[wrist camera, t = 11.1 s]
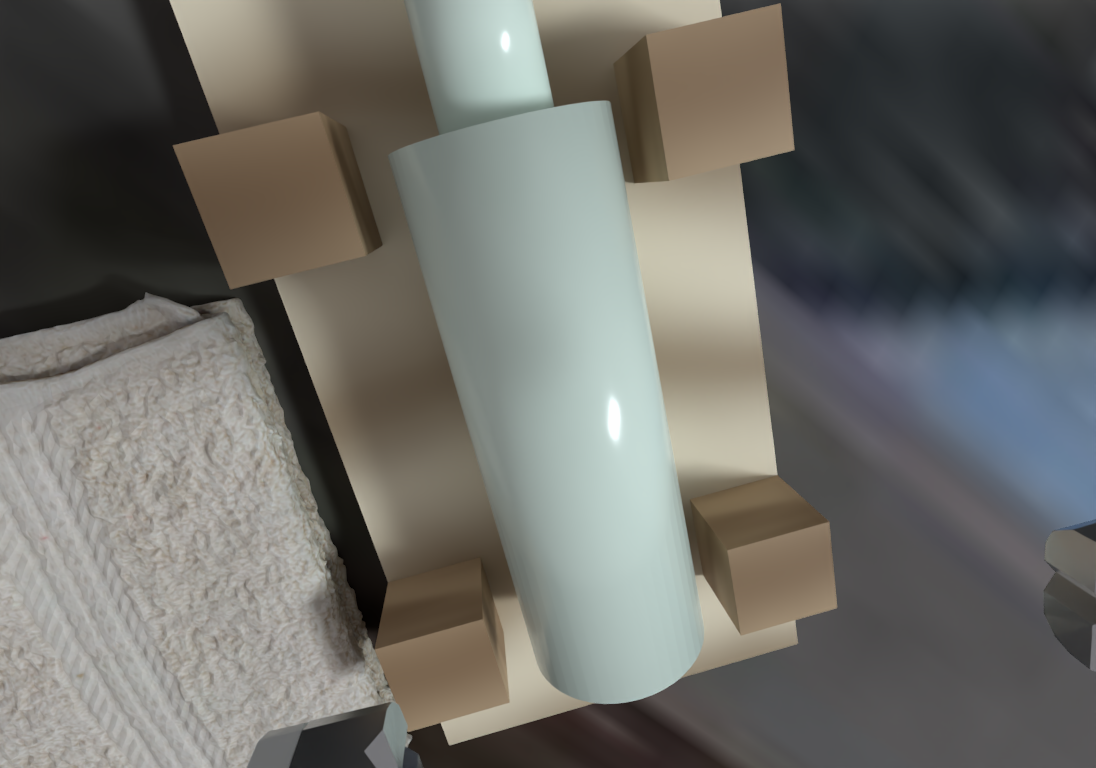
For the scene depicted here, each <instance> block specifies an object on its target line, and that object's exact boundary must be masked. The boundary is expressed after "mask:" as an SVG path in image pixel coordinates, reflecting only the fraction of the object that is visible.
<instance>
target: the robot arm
mask: <svg viewBox="0 0 1096 768" xmlns="http://www.w3.org/2000/svg"><path fill="white" fill-rule="evenodd" d="M1045 561H1046V562H1047V563H1048V564H1049V565H1050V567H1051V568H1052V569H1053V570H1054V571H1055V572H1056V573H1055V574H1054V576H1053V577H1052V579H1051V580H1050V582H1049V583H1048V585H1047V586H1046V588H1045V589H1044V615H1045V617H1046V619H1047V621H1048V623H1049V625H1050V627H1051V629H1052V631H1053V633H1054V635H1055V637H1056V638H1057V639H1058V640H1059V642H1060V643H1061V644H1062V645H1063V646H1064V647H1065V649H1066V650H1067V651H1068V652H1069V653H1070V654H1071V655H1072V656H1074V657H1075V658H1076V659H1077V660H1079V661H1080V662H1081V663H1083V664H1084V665H1085V666H1086V667H1088V668H1089V669H1090V670H1093V671H1096V519H1095V520H1091V521H1087V522H1084V523H1080V524H1076V525H1072V526H1069V527H1065V528H1061V529H1057V530H1054V531H1053V532H1052V533H1051V535H1050V536H1049V538H1048V539H1047V541H1046V542H1045ZM407 728H408V725H407V723H406V720H405V718H404V716H403V713H402V711H401V708H400V706H399V704H396V703H394V702H388V703H384V704H380V705H376V706H371V707H367V708H363V709H358V710H354V711H350V712H345V713H341V714H337V715H333V716H328V717H324V718H320V719H315V720H311V721H310V722H308V723H302V724H298V725H294V726H289V727H285V728H281V729H276V730H272V731H268V732H267V733H266V734H265V735H264V736H263V737H262V738H261V739H260V740H259V741H258V743H257V744H256V747H255V749H254V751H253V754H252V756H251V758H250V761H249V763H248V765H247V768H423V766H422V763H421V760H420V757H419V755H418V754H417V753H415V752H414V751H412V750H410V749H409V748H407V747H405V743H406V735H407Z"/></svg>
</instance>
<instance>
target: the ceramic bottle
mask: <svg viewBox="0 0 1096 768" xmlns="http://www.w3.org/2000/svg"><path fill="white" fill-rule="evenodd" d="M404 4H405V8H406V12H407V15H408V19H409V23H410V27H411V30H412V34H413V38H414V42H415V45H416V49H417V53H418V57H419V60H420V64H421V68H422V72H423V75H424V79H425V83H426V87H427V91H428V94H429V98H430V102H431V106H432V109H433V113H434V117H435V121H436V124H437V128H438V132H439V135H438V136H435V137H432V138H429V139H426V140H423V141H420V142H417V143H414V144H411V145H408V146H405V147H403V148H401V149H398V150H396V151H394V152H392V153H390V154H389V155H388V159H389V162H390V166H391V169H392V172H393V176H394V179H395V183H396V186H397V189H398V193H399V196H400V200H401V203H402V206H403V210H404V213H405V217H406V220H407V223H408V227H409V230H410V234H411V237H412V240H413V244H414V247H415V251H416V254H417V257H418V261H419V264H420V268H421V271H422V274H423V278H424V281H425V285H426V288H427V291H428V295H429V298H430V302H431V305H432V308H433V312H434V315H435V319H436V322H437V325H438V329H439V332H440V336H441V339H442V342H443V346H444V349H445V353H446V356H447V359H448V363H449V366H450V370H451V373H452V376H453V380H454V383H455V387H456V390H457V393H458V397H459V400H460V404H461V407H462V410H463V414H464V417H465V421H466V424H467V427H468V431H469V434H470V438H471V441H472V444H473V448H474V451H475V455H476V458H477V461H478V465H479V468H480V472H481V475H482V478H483V482H484V485H485V489H486V492H487V495H488V499H489V502H490V506H491V509H492V512H493V516H494V519H495V523H496V526H497V529H498V533H499V536H500V540H501V543H502V546H503V550H504V553H505V557H506V560H507V563H508V567H509V570H510V574H511V577H512V580H513V584H514V587H515V591H516V594H517V597H518V601H519V604H520V608H521V611H522V614H523V618H524V621H525V625H526V628H527V631H528V635H529V638H530V642H531V645H532V648H533V652H534V655H535V659H536V662H537V665H538V667H539V669H540V671H541V673H542V674H543V676H544V677H545V679H546V680H547V681H548V682H549V683H550V684H551V685H552V686H553V687H555V688H556V689H557V690H559V691H560V692H562V693H564V694H566V695H568V696H570V697H573V698H575V699H578V700H582V701H586V702H591V703H600V704H617V703H625V702H631V701H635V700H639V699H643V698H645V697H648V696H651V695H654V694H656V693H658V692H660V691H662V690H664V689H665V688H667V687H669V686H670V685H672V684H673V683H675V682H676V681H677V680H678V679H680V678H681V677H682V676H683V675H684V674H685V673H686V672H687V671H688V670H689V669H690V668H691V666H692V665H693V663H694V662H695V661H696V659H697V657H698V655H699V653H700V651H701V648H702V645H703V641H704V623H703V617H702V612H701V606H700V600H699V595H698V589H697V584H696V578H695V573H694V567H693V561H692V556H691V550H690V545H689V539H688V533H687V528H686V522H685V517H684V511H683V505H682V500H681V494H680V489H679V483H678V477H677V472H676V466H675V461H674V455H673V449H672V444H671V438H670V433H669V427H668V422H667V416H666V410H665V405H664V399H663V394H662V388H661V382H660V377H659V371H658V366H657V360H656V354H655V349H654V343H653V338H652V332H651V326H650V321H649V315H648V310H647V304H646V298H645V293H644V287H643V282H642V276H641V271H640V265H639V259H638V254H637V248H636V243H635V237H634V231H633V226H632V220H631V215H630V209H629V203H628V198H627V192H626V187H625V181H624V175H623V170H622V164H621V159H620V153H619V147H618V142H617V136H616V131H615V125H614V119H613V114H612V108H611V103H610V102H609V101H590V102H582V103H576V104H569V105H564V106H558V107H554V103H553V98H552V93H551V89H550V84H549V79H548V74H547V69H546V64H545V59H544V55H543V50H542V45H541V40H540V35H539V30H538V26H537V21H536V16H535V11H534V6H533V1H532V0H404Z"/></svg>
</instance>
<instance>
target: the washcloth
mask: <svg viewBox="0 0 1096 768" xmlns="http://www.w3.org/2000/svg"><path fill="white" fill-rule="evenodd" d="M265 363H266V360H265V357H264V356H263V354H262V350H261V348H260V346H259V344H258V342H257V339H256V337H255V335H254V324H253V322H252V319H251V318H250V316H249V314H248V313H247V312H246V310H245V308H244V306H243V303H242V301H241V300H240V299H239V298H232V299H228V300H222V301H216V302H212V303H207V304H203V305H195V306H192V307H188V306H185V305H182V304H179V303H176V302H173V301H171V300H169V299H167V298H163V297H160V296H156V295H152V294H149V293H146V292H145V298H144V299H143V300H137V301H136V302H135V303H133V304H131V305H129V306H128V307H127V308H126V309H123V310H121V311H118V312H112V313H108V314H104V315H102V316H97V317H94V318H91V319H87V320H82V321H78V322H74V323H71V324H66V325H59V326H55V327H53V328H47V329H41V330H38V331H35V332H29V333H25V334H20V335H15V336H12V337H7V338H2V339H0V768H247V765H248V763H249V761H250V758H251V756H252V754H253V751H254V749H255V747H256V744H257V743H258V741H259V740H260V739H261V738H262V737H263V736H264V735H265V734H266V733H267V732H268V731H272V730H276V729H281V728H285V727H289V726H294V725H298V724H302V723H308V722H310V721H311V720H315V719H320V718H324V717H328V716H333V715H337V714H341V713H345V712H350V711H354V710H358V709H363V708H367V707H371V706H376V705H380V704H384V703H388V702H394V703H396V702H395V699H394V697H393V694H392V692H391V689H390V687H388V684H387V681H386V679H385V677H384V675H383V673H384V672H383V669H382V667H381V664H380V662H379V659H378V657H377V655H376V652H375V650H374V649H373V647H372V643H371V640H370V639H369V637H368V635H367V632H368V631H367V629H366V627H365V623H366V622H364V621H362V618H363V615H362V614H361V613H362V612H361V611H360V610H358V606H357V602H356V595H355V592H354V589H352V588H350V586H349V584H348V582H347V577H346V576H347V574H346V567H345V565H343V559H341V558H340V557H338V553H337V548H336V547H335V545H334V544H333V543H332V541H331V538H330V532H329V531H328V529H327V528H326V527H325V525H324V521H323V520H322V518H321V517H320V516H319V514H318V512H317V509H318V507H317V504H316V501H315V499H314V497H313V495H312V492H311V488H310V482H309V479H308V478H307V477H306V476H305V475H304V473H303V472H302V470H301V466H300V465H299V463H298V458H297V456H296V452H295V450H294V447H293V440H292V439H291V433H290V431H289V430H288V429H287V427H286V425H285V422H284V411H283V408H281V406H280V404H279V401H278V398H277V396H276V394H275V393H274V387H273V385H272V383H271V382H270V375H269V373H268V371H267V369H266V367H265V365H264V364H265ZM411 740H412V735H409V734H407V735H406V743H405V747H407V748H408V744H409V743H410V741H411Z"/></svg>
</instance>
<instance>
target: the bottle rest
mask: <svg viewBox="0 0 1096 768" xmlns="http://www.w3.org/2000/svg"><path fill="white" fill-rule="evenodd" d="M532 1H533V6H534V11H535V16H536V21H537V26H538V30H539V35H540V40H541V45H542V50H543V55H544V59H545V64H546V69H547V74H548V79H549V84H550V89H551V93H552V98H553V103H554V107H558V106H564V105H569V104H576V103H582V102H590V101H609V102H610V103H611V108H612V114H613V119H614V125H615V131H616V136H617V142H618V147H619V153H620V159H621V164H622V170H623V175H624V181H625V187H626V192H627V198H628V203H629V209H630V215H631V220H632V226H633V231H634V237H635V243H636V248H637V254H638V259H639V265H640V271H641V276H642V282H643V287H644V293H645V298H646V304H647V310H648V315H649V321H650V326H651V332H652V338H653V343H654V349H655V354H656V360H657V366H658V371H659V377H660V382H661V388H662V394H663V399H664V405H665V410H666V416H667V422H668V427H669V433H670V438H671V444H672V449H673V455H674V461H675V466H676V472H677V477H678V483H679V489H680V494H681V500H682V505H683V511H684V517H685V522H686V528H687V533H688V539H689V545H690V550H691V556H692V561H693V567H694V573H695V578H696V584H697V589H698V595H699V600H700V606H701V612H702V617H703V623H704V641H703V645H702V648H701V651H700V653H699V655H698V657H697V659H696V661H695V662H694V663H693V665H692V666H691V668H690V669H689V670H688V671H687V672H686V673H685V674H684V675H683V676H682V677H686V676H689V675H693V674H696V673H699V672H703V671H706V670H710V669H713V668H717V667H720V666H723V665H727V664H730V663H734V662H737V661H741V660H744V659H747V658H751V657H754V656H758V655H761V654H765V653H768V652H772V651H775V650H778V649H782V648H785V647H789V646H792V645H796V644H798V641H797V632H796V624H795V620H797V619H801V618H804V617H808V616H811V615H815V614H818V613H822V612H825V611H829V610H832V609H835V608H837V600H836V590H835V579H834V568H833V558H832V547H831V536H830V526H829V521H828V520H827V519H825V518H824V517H823V516H822V515H821V514H820V513H819V512H818V511H817V510H815V509H814V508H813V507H812V506H811V505H810V504H809V503H808V502H807V501H805V500H804V499H803V498H802V497H801V496H800V495H799V494H798V493H797V492H795V491H794V490H793V489H792V488H791V487H790V486H789V485H788V484H787V483H785V482H784V481H783V480H782V479H781V478H780V477H779V476H778V475H777V468H776V459H775V451H774V443H773V435H772V427H771V418H770V410H769V402H768V394H767V385H766V377H765V369H764V361H763V353H762V344H761V336H760V328H759V320H758V311H757V303H756V295H755V287H754V278H753V270H752V262H751V254H750V246H749V237H748V229H747V221H746V213H745V204H744V196H743V188H742V180H741V171H740V163H744V162H748V161H752V160H756V159H760V158H764V157H768V156H772V155H776V154H780V153H784V152H788V151H792V150H794V141H793V130H792V119H791V109H790V98H789V87H788V76H787V66H786V55H785V44H784V34H783V23H782V12H781V3H780V4H776V5H771V6H767V7H763V8H759V9H754V10H750V11H746V12H742V13H737V14H733V15H729V16H724V17H722V15H721V7H720V0H532ZM170 3H171V6H172V8H173V11H174V14H175V16H176V19H177V22H178V24H179V27H180V30H181V32H182V35H183V38H184V40H185V43H186V46H187V48H188V51H189V54H190V56H191V59H192V62H193V64H194V67H195V70H196V72H197V75H198V78H199V80H200V83H201V86H202V88H203V91H204V94H205V96H206V99H207V102H208V104H209V107H210V110H211V112H212V115H213V118H214V120H215V123H216V126H217V128H218V131H219V135H215V136H211V137H207V138H202V139H198V140H194V141H189V142H185V143H181V144H177V145H173V148H174V150H175V153H176V155H177V158H178V160H179V163H180V165H181V168H182V170H183V173H184V175H185V178H186V180H187V183H188V185H189V188H190V190H191V193H192V195H193V198H194V200H195V203H196V205H197V208H198V210H199V213H200V215H201V218H202V220H203V223H204V225H205V228H206V230H207V233H208V235H209V238H210V240H211V243H212V245H213V248H214V250H215V252H216V255H217V257H218V260H219V262H220V265H221V267H222V270H223V272H224V275H225V277H226V280H227V282H228V285H229V287H230V289H234V288H238V287H242V286H246V285H250V284H254V283H258V282H262V281H266V280H270V279H274V280H275V283H276V285H277V288H278V291H279V293H280V296H281V299H282V301H283V304H284V307H285V309H286V312H287V315H288V317H289V320H290V323H291V325H292V328H293V331H294V333H295V336H296V339H297V341H298V344H299V347H300V349H301V352H302V355H303V357H304V360H305V363H306V365H307V368H308V371H309V373H310V376H311V379H312V381H313V384H314V387H315V389H316V392H317V395H318V397H319V400H320V403H321V405H322V408H323V411H324V413H325V416H326V419H327V421H328V424H329V427H330V429H331V432H332V434H333V437H334V440H335V442H336V445H337V448H338V450H339V453H340V456H341V458H342V461H343V464H344V466H345V469H346V472H347V474H348V477H349V480H350V482H351V485H352V488H353V490H354V493H355V496H356V498H357V501H358V504H359V506H360V509H361V512H362V514H363V517H364V520H365V522H366V525H367V528H368V530H369V533H370V536H371V538H372V541H373V544H374V546H375V549H376V552H377V554H378V557H379V560H380V562H381V565H382V568H383V570H384V573H385V576H386V578H387V581H388V586H387V591H386V596H385V601H384V606H383V611H382V616H381V621H380V626H379V631H378V635H377V640H376V645H375V652H376V654H377V657H378V659H379V662H380V664H381V667H382V669H383V672H384V674H385V677H386V679H387V682H388V684H389V687H390V689H391V692H392V694H393V697H394V699H395V702H396V704H399V706H400V708H401V711H402V713H403V716H404V718H405V720H406V723H407V725H408V728H407V731H408V732H410V731H413V730H417V729H420V728H424V727H427V726H431V725H434V724H438V723H441V725H442V727H443V730H444V733H445V735H446V738H447V741H448V743H449V745H452V744H456V743H459V742H463V741H466V740H469V739H473V738H476V737H480V736H483V735H487V734H490V733H493V732H497V731H500V730H504V729H507V728H511V727H514V726H518V725H521V724H524V723H528V722H531V721H535V720H538V719H542V718H545V717H548V716H552V715H555V714H559V713H562V712H566V711H569V710H572V709H576V708H579V707H583V706H586V705H590V704H593V703H591V702H586V701H582V700H578V699H575V698H573V697H570V696H568V695H566V694H564V693H562V692H560V691H559V690H557V689H556V688H555V687H553V686H552V685H551V684H550V683H549V682H548V681H547V680H546V679H545V677H544V676H543V674H542V673H541V671H540V669H539V667H538V665H537V662H536V659H535V655H534V652H533V648H532V645H531V642H530V638H529V635H528V631H527V628H526V625H525V621H524V618H523V614H522V611H521V608H520V604H519V601H518V597H517V594H516V591H515V587H514V584H513V580H512V577H511V574H510V570H509V567H508V563H507V560H506V557H505V553H504V550H503V546H502V543H501V540H500V536H499V533H498V529H497V526H496V523H495V519H494V516H493V512H492V509H491V506H490V502H489V499H488V495H487V492H486V489H485V485H484V482H483V478H482V475H481V472H480V468H479V465H478V461H477V458H476V455H475V451H474V448H473V444H472V441H471V438H470V434H469V431H468V427H467V424H466V421H465V417H464V414H463V410H462V407H461V404H460V400H459V397H458V393H457V390H456V387H455V383H454V380H453V376H452V373H451V370H450V366H449V363H448V359H447V356H446V353H445V349H444V346H443V342H442V339H441V336H440V332H439V329H438V325H437V322H436V319H435V315H434V312H433V308H432V305H431V302H430V298H429V295H428V291H427V288H426V285H425V281H424V278H423V274H422V271H421V268H420V264H419V261H418V257H417V254H416V251H415V247H414V244H413V240H412V237H411V234H410V230H409V227H408V223H407V220H406V217H405V213H404V210H403V206H402V203H401V200H400V196H399V193H398V189H397V186H396V183H395V179H394V176H393V172H392V169H391V166H390V162H389V159H388V155H389V154H390V153H392V152H394V151H396V150H398V149H401V148H403V147H405V146H408V145H411V144H414V143H417V142H420V141H423V140H426V139H429V138H432V137H435V136H438V135H439V132H438V128H437V124H436V121H435V117H434V113H433V109H432V106H431V102H430V98H429V94H428V91H427V87H426V83H425V79H424V75H423V72H422V68H421V64H420V60H419V57H418V53H417V49H416V45H415V42H414V38H413V34H412V30H411V27H410V23H409V19H408V15H407V12H406V8H405V4H404V0H170ZM682 677H681V678H682Z"/></svg>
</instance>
